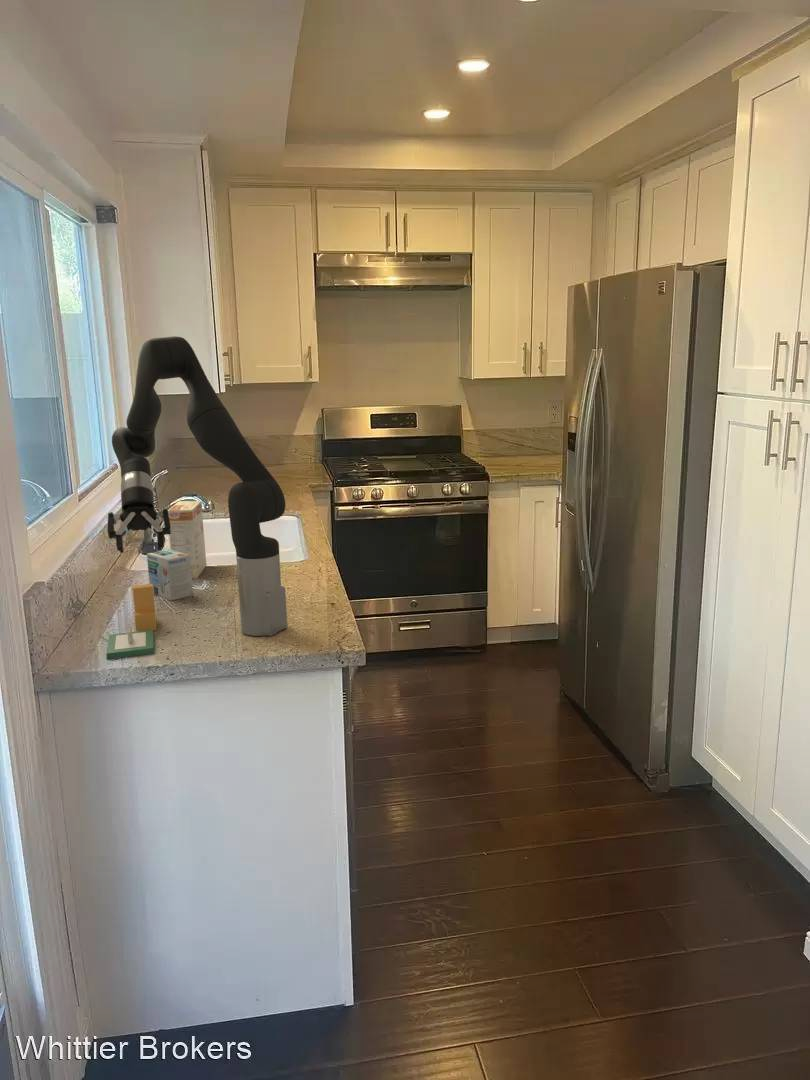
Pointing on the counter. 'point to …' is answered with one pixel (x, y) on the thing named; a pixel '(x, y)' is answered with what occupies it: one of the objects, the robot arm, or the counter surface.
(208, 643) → the counter surface
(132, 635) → the board
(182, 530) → the coffeecake box
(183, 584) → the light bulb box
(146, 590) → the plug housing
